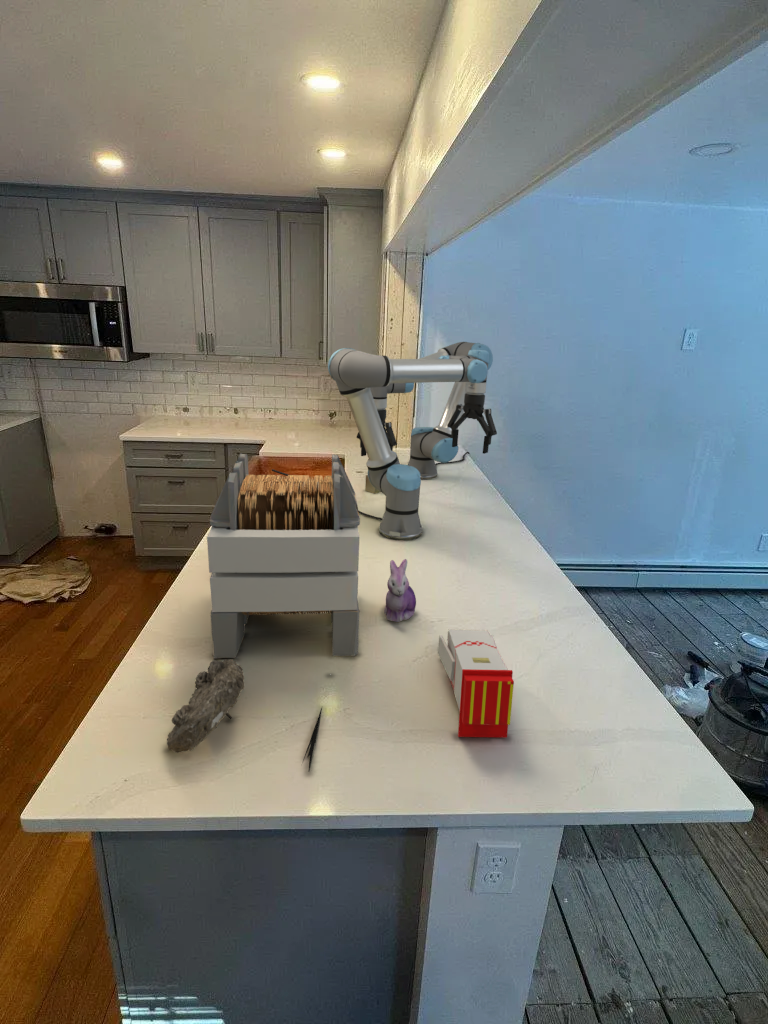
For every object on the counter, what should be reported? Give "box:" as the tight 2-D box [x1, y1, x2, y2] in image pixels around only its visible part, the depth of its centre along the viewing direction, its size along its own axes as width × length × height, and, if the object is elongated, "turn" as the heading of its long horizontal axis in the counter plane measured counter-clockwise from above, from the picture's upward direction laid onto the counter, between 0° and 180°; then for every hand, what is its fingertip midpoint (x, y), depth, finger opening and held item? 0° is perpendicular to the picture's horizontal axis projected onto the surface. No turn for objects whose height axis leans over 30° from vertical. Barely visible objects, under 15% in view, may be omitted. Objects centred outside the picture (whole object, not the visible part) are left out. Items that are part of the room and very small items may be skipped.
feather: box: [301, 673, 332, 771], centre depth 108 cm, size 2×28×2 cm
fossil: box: [166, 658, 245, 754], centre depth 106 cm, size 22×10×15 cm
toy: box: [437, 628, 515, 738], centre depth 117 cm, size 12×13×30 cm
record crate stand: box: [206, 452, 361, 660], centre depth 135 cm, size 34×33×41 cm
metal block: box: [364, 474, 381, 495], centre depth 244 cm, size 6×6×7 cm
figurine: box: [384, 558, 417, 623], centre depth 145 cm, size 9×10×15 cm
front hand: (469, 449), depth 216 cm, fingers open, 13 cm apart
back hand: (375, 458), depth 241 cm, fingers open, 13 cm apart
